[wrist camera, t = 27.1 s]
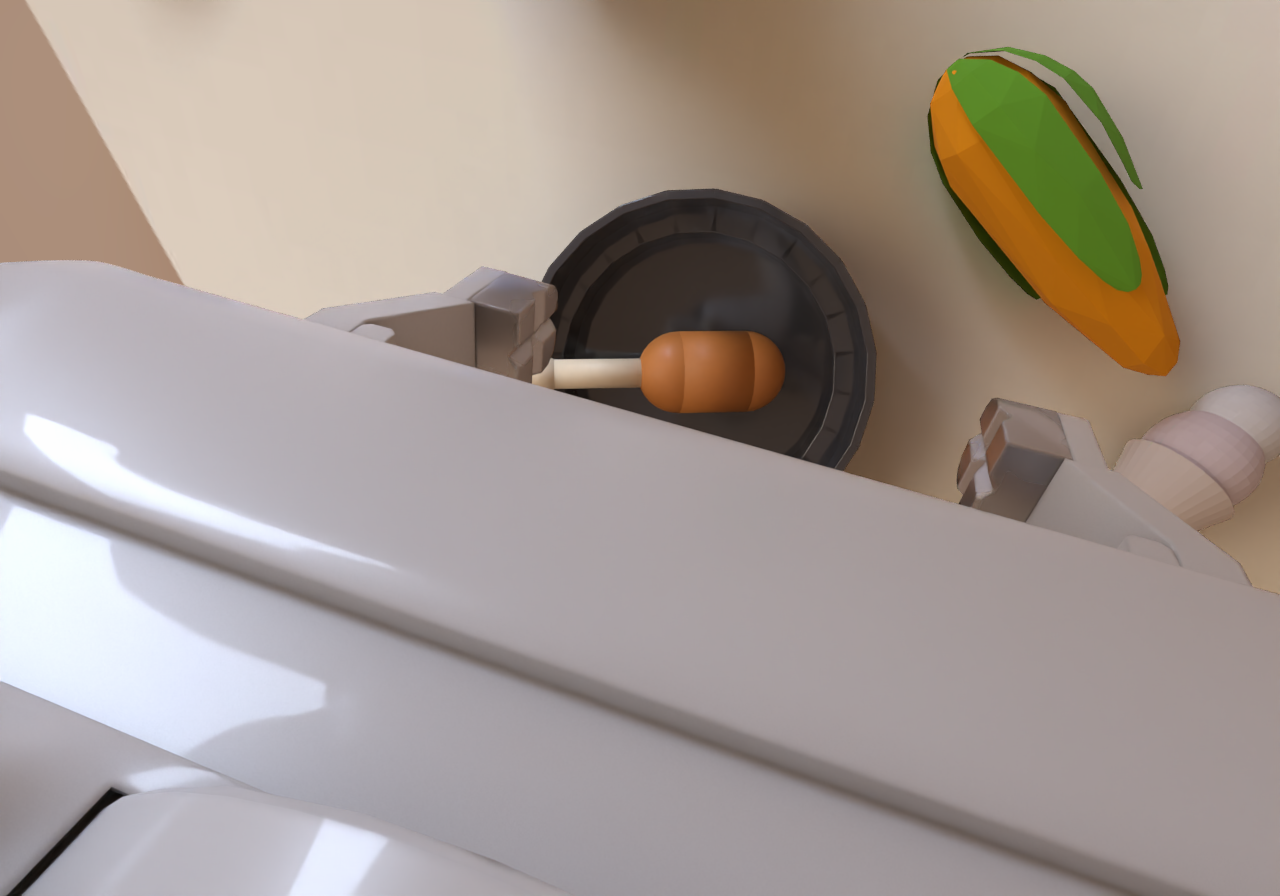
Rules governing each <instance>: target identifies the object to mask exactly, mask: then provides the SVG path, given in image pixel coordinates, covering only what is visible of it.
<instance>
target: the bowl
mask: <svg viewBox="0 0 1280 896" xmlns="http://www.w3.org/2000/svg"><path fill="white" fill-rule="evenodd" d="M542 282H543V283H547V284H550V285H554V286H555V287H556V289H557V292H558V306H557V310H556V311H555V312H554V313H553V314H552V315H551V316H550V317H549V318H550V319H551V321H552V323H553V325H554V327H555V328H556V340H555V346H554V351H553V354H552V357H551V358H553V359H636V358H640V357H641V355H642V353H643V351H644V349H645V348H646V347H647V346H648V344H649V343H651V342H652V341H653V340H654V339H655V338H657V337H659V336H661V335H663V334H666V333H669V332H676V331H752V332H756V333H759V334H762V335H764V336H765V337H767V338H769V339H770V340H771V341H772V342H773V343H774V344H775V345H776V346H777V347H778V349H779V350H780V352H781V354H782V357H783V359H784V363H785V378H784V382H783V385H782V387H781V390H780V391H779V393H778V394H777V396H776V397H775V398H774V399H773V400H772V401H771V402H770V403H769V404H767V405H765V406H764V407H762V408H760V409H757V410H754V411H748V412H714V413H672V412H667V411H664V410H661V409H659V408H657V407H655V406H654V405H653V404H652V403H651V402H649V400H648V399H647V398H646V397H645V396H644V394H643V392H642V390H641V388H580V389H554V390H556V391H559V392H563V393H566V394H570V395H573V396H577V397H581V398H584V399H588V400H591V401H595V402H598V403H602V404H605V405H609V406H612V407H616V408H620V409H623V410H627V411H630V412H634V413H637V414H641V415H644V416H648V417H652V418H655V419H659V420H662V421H666V422H669V423H673V424H676V425H680V426H683V427H687V428H691V429H694V430H698V431H701V432H705V433H708V434H712V435H715V436H719V437H723V438H726V439H730V440H733V441H737V442H740V443H744V444H747V445H751V446H754V447H758V448H762V449H765V450H769V451H772V452H776V453H779V454H783V455H786V456H790V457H793V458H797V459H801V460H804V461H808V462H811V463H815V464H818V465H822V466H825V467H829V468H833V469H836V470H840V471H844V469H845V468H846V466H847V465H848V463H849V462H850V460H851V459H852V457H853V456H854V454H855V453H856V451H857V450H858V447H859V446H860V443H861V440H862V437H863V434H864V431H865V428H866V425H867V422H868V418H869V415H870V412H871V409H872V406H873V403H874V402H873V401H874V395H875V375H876V355H877V353H876V348H875V343H874V339H873V334H872V330H871V326H870V321H869V317H868V312H867V308H866V305H865V302H864V300H863V298H862V296H861V295H860V293H859V291H858V289H857V287H856V285H855V284H854V282H853V280H852V278H851V276H850V274H849V273H848V271H847V269H846V267H845V265H844V263H843V262H842V261H841V259H840V258H839V257H838V256H837V255H836V254H835V253H834V252H833V251H832V250H831V249H830V248H829V247H828V246H827V245H826V244H825V243H824V242H823V241H822V240H821V239H820V238H819V237H818V236H817V235H816V234H815V233H814V232H813V230H812V229H811V228H810V227H809V226H808V225H806V224H805V223H803V222H801V221H799V220H798V219H796V218H794V217H792V216H791V215H789V214H787V213H785V212H784V211H782V210H780V209H778V208H776V207H775V206H773V205H771V204H769V203H768V202H766V201H763V200H761V199H757V198H753V197H748V196H744V195H740V194H736V193H732V192H728V191H723V190H719V189H691V190H667V191H663V192H660V193H657V194H654V195H651V196H648V197H645V198H642V199H638V200H635V201H632V202H629V203H626V204H623V205H621V206H619V207H617V208H616V209H614V210H612V211H611V212H609V213H608V214H606V215H605V216H603V217H602V218H600V219H599V220H597V221H596V222H594V223H593V224H591V225H590V226H588V227H587V228H585V229H584V230H582V231H581V232H580V233H579V234H578V235H577V236H576V237H575V238H574V239H573V240H572V242H571V243H570V244H569V245H568V246H567V247H566V248H565V249H564V251H563V252H562V253H561V254H560V255H559V256H558V257H557V259H556V260H555V261H554V262H553V263H552V264H551V265H550V267H549V268H548V270H547V272H546V274H545V276H544V278H543V280H542Z"/></svg>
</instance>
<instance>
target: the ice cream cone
mask: <svg viewBox="0 0 1280 896" xmlns="http://www.w3.org/2000/svg"><path fill="white" fill-rule="evenodd" d="M1278 455H1280V398H1279V397H1278V396H1276V395H1275V394H1273V393H1271V392H1269V391H1267V390H1265V389H1262V388H1259V387H1255V386H1248V385H1232V386H1226V387H1222V388H1218V389H1215V390H1213V391H1211V392H1209V393H1207V394H1205V395H1204V396H1202V397H1201V398H1200V399H1198V400H1197V401H1196V402H1195V403H1194V404H1193V405H1192V407H1191V408H1190V410H1189V411H1186V412H1182V413H1178V414H1174V415H1171V416H1169V417H1167V418H1165V419H1162V420H1161V421H1160V422H1158V423H1157V424H1155V425H1154V426H1152V427H1151V428H1150V429H1149V430H1148V431H1147V432H1146V433H1145V435H1144V436H1143V438H1142V439H1132V440H1129V441H1128V442H1127V443H1126V445H1125V447H1124V449H1123V451H1122V453H1121V455H1120V457H1119V459H1118V461H1117V463H1116V465H1115V467H1114V469H1113V471H1114V472H1118V473H1120V474H1121V475H1122V476H1124V477H1125V478H1126V479H1128V480H1129V481H1130V482H1132V483H1133V484H1134V485H1136V486H1137V487H1138V488H1140V489H1141V490H1142V491H1144V492H1145V493H1146V494H1148V495H1149V496H1150V497H1152V498H1153V499H1154V500H1156V501H1157V502H1159V503H1160V504H1161V505H1163V506H1164V507H1165V508H1167V509H1168V510H1169V511H1171V512H1172V513H1173V514H1175V515H1176V516H1177V517H1179V518H1180V519H1181V520H1183V521H1184V522H1185V523H1187V524H1188V525H1189V526H1191V527H1192V528H1193V529H1195V530H1196V531H1199V530H1201V529H1204V528H1207V527H1210V526H1212V525H1215V524H1218V523H1221V522H1223V521H1226V520H1229V519H1231V518H1232V517H1233V515H1234V508H1233V505H1235V504H1238V503H1239V502H1241V501H1242V500H1244V499H1245V498H1247V497H1248V496H1249V495H1250V494H1251V493H1252V492H1253V491H1254V490H1255V488H1256V487H1257V486H1258V485H1259V483H1260V481H1261V479H1262V477H1263V473H1264V469H1265V463H1267V462H1269V461H1271V460H1273V459H1274V458H1276V457H1277V456H1278Z"/></svg>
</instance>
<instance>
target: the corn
mask: <svg viewBox="0 0 1280 896" xmlns="http://www.w3.org/2000/svg"><path fill="white" fill-rule="evenodd" d="M997 51H1006V52H1010V53H1013V54H1016V55H1019V56H1022V57H1025V58H1028V59H1032V60H1035V61H1037V62H1038V63H1040V64H1042V65H1043V66H1045V67H1046V68H1048V69H1050V70H1051V71H1053V72H1054V73H1056V74H1058V75H1059V76H1061V77H1062V78H1064V79H1065V80H1066V82H1067V83H1068V84H1069V85H1070V86H1071V88H1072V89H1073V90H1074V91H1075V92H1076V93H1077V95H1078V96H1079V97H1080V98H1081V99H1082V100H1083V102H1084V103H1085V104H1086V105H1087V106H1088V107H1089V109H1090V110H1091V111H1092V112H1093V113H1094V114H1095V116H1096V117H1097V118H1098V119H1099V120H1100V122H1101V123H1102V125H1103V126H1104V128H1105V130H1106V132H1107V134H1108V136H1109V138H1110V140H1111V142H1112V143H1113V145H1114V147H1115V149H1116V151H1117V153H1118V155H1119V157H1120V159H1121V160H1122V162H1123V164H1124V166H1125V169H1126V171H1127V173H1128V175H1129V177H1130V179H1131V181H1132V182H1133V183H1134V184H1135V185H1136V186H1137V187H1138V188H1139V189H1143V188H1142V186H1141V183H1140V181H1139V178H1138V176H1137V173H1136V170H1135V168H1134V165H1133V163H1132V160H1131V157H1130V155H1129V152H1128V150H1127V147H1126V145H1125V142H1124V139H1123V137H1122V136H1121V134H1120V132H1119V131H1118V129H1117V127H1116V126H1115V124H1114V122H1113V120H1112V119H1111V117H1110V115H1109V114H1108V112H1107V110H1106V109H1105V107H1104V105H1103V104H1102V102H1101V100H1100V99H1099V97H1098V95H1097V94H1096V92H1095V90H1094V89H1093V88H1092V87H1091V86H1090V85H1089V84H1088V83H1087V82H1086V81H1085V80H1084V79H1082V78H1081V77H1080V76H1079V75H1078V74H1077V73H1076V72H1075V71H1073V70H1071V69H1070V68H1068V67H1066V66H1064V65H1062V64H1060V63H1058V62H1057V61H1055V60H1053V59H1051V58H1049V57H1047V56H1045V55H1041V54H1037V53H1032V52H1028V51H1024V50H1020V49H1015V48H1011V47H1004V48H997V49H990V50H984V51H977V52H971V53H983V52H997ZM968 54H970V53H967V54H966V55H968ZM966 55H964V56H966ZM964 56H963V57H964ZM928 127H929V137H930V148H931V154H932V156H933V159H934V162H935V164H936V167H937V170H938V172H939V175H940V178H941V180H942V183H943V185H944V186H945V188H946V189H947V191H948V192H949V194H950V195H951V197H952V199H953V200H954V202H955V203H956V205H957V206H958V208H959V209H960V211H961V212H962V214H963V216H964V217H965V219H966V220H967V222H968V223H969V225H970V226H971V228H972V230H973V231H974V233H975V234H976V236H977V237H978V239H979V240H980V241H981V243H982V244H983V245H984V246H985V247H986V249H987V250H988V251H989V252H990V253H991V255H992V256H993V257H994V258H995V259H996V261H997V262H998V263H999V264H1000V265H1001V267H1002V268H1003V269H1004V270H1005V271H1006V273H1007V274H1008V275H1009V276H1010V277H1011V278H1012V279H1013V280H1014V281H1015V282H1016V283H1017V284H1018V285H1019V286H1020V287H1021V288H1022V289H1023V290H1024V291H1025V292H1026V293H1027V294H1028V295H1030V296H1031V297H1033V298H1034V299H1036V300H1037V299H1039V298H1041V299H1042V300H1043V301H1044V302H1045V303H1046V304H1047V305H1048V306H1049V307H1050V308H1052V309H1053V310H1054V311H1055V312H1057V313H1058V314H1059V315H1060V316H1061V317H1063V318H1064V319H1065V320H1066V321H1067V322H1069V323H1070V324H1071V325H1072V326H1073V327H1075V328H1076V329H1077V330H1078V331H1080V332H1081V333H1082V334H1083V335H1084V336H1086V337H1087V338H1088V339H1089V340H1090V341H1092V342H1093V343H1094V344H1095V345H1097V346H1098V347H1099V348H1100V349H1101V350H1103V351H1104V352H1105V353H1106V354H1107V355H1109V356H1110V357H1111V358H1112V359H1114V360H1115V361H1116V362H1117V363H1118V364H1120V365H1121V366H1122V367H1123V368H1127V369H1130V370H1134V371H1137V372H1140V373H1144V374H1147V375H1158V376H1166V375H1167V374H1168V373H1169V372H1170V371H1171V369H1172V368H1173V367H1174V366H1175V365H1176V363H1177V361H1178V353H1179V346H1180V340H1179V336H1178V333H1177V330H1176V327H1175V324H1174V321H1173V318H1172V315H1171V311H1170V308H1169V305H1168V302H1167V299H1166V296H1165V295H1167V292H1168V283H1167V279H1166V274H1165V269H1164V267H1163V264H1162V261H1161V258H1160V256H1159V253H1158V250H1157V247H1156V244H1155V242H1154V239H1153V236H1152V234H1151V232H1150V231H1149V229H1148V227H1147V225H1146V223H1145V222H1144V220H1143V218H1142V216H1141V215H1140V213H1139V211H1138V209H1137V208H1136V206H1135V204H1134V202H1133V201H1132V199H1131V197H1130V195H1129V194H1128V192H1127V190H1126V188H1125V187H1124V185H1123V183H1122V181H1121V180H1120V178H1119V177H1118V175H1117V174H1116V173H1115V171H1114V170H1113V168H1112V167H1111V166H1110V164H1109V163H1108V161H1107V160H1106V158H1105V157H1104V156H1103V154H1102V153H1101V151H1100V150H1099V149H1098V147H1097V146H1096V144H1095V143H1094V142H1093V140H1092V139H1091V137H1090V136H1089V135H1088V133H1087V132H1086V130H1085V129H1084V128H1083V126H1082V125H1081V123H1080V122H1079V121H1078V119H1077V118H1076V116H1075V115H1074V114H1073V112H1072V111H1071V109H1070V108H1069V106H1068V105H1067V103H1066V101H1064V99H1063V98H1062V97H1061V95H1060V94H1059V92H1058V91H1057V90H1056V88H1055V87H1053V86H1051V85H1049V84H1048V83H1046V82H1044V81H1042V80H1041V79H1039V78H1038V77H1036V76H1035V75H1034V74H1033V73H1032V72H1030V71H1028V70H1026V69H1024V68H1022V67H1020V66H1018V65H1016V64H1014V63H1012V62H1010V61H1008V60H1006V59H1004V58H1002V57H1000V56H970V57H966V58H964V59H958V60H957V61H956V62H955V63H953V64H952V65H951V66H950V67H949V68H948V69H947V70H946V71H945V73H944V74H943V75H942V76H941V77H940V78H939V79H938V81H937V84H936V88H935V92H934V95H933V98H932V101H931V103H930V109H929V113H928Z"/></svg>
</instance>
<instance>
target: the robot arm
mask: <svg viewBox="0 0 1280 896" xmlns="http://www.w3.org/2000/svg"><path fill="white" fill-rule="evenodd" d="M557 306H558V292H557V289H556V287H555V286H554V285H550V284H547V283H543V282H539V281H536V280H532V279H528V278H525V277H521V276H517V275H514V274H510V273H507V272H506V271H501V270H496V269H492V268H487V267H483V266H482V267H480V268H479V269H477V270H476V271H474V272H473V273H472V274H470V275H469V276H467V277H466V278H464V279H463V280H462V281H460V282H459V283H457V284H456V285H454V286H453V287H452V288H450V289H449V290H447V291H446V292H444V293H443V294H441V293H437V292H432V293H425V294H419V295H412V296H405V297H398V298H391V299H384V300H377V301H371V302H364V303H357V304H350V305H343V306H336V307H329V308H323V309H321V310H319V311H317V312H316V313H314V314H312V315H311V316H309V317H307V318H306V319H300V318H297V317H293V316H290V315H286V314H282V313H279V312H275V311H272V310H268V309H265V308H261V307H258V306H254V305H250V304H247V303H243V302H240V301H236V300H233V299H229V298H226V297H222V296H219V295H215V294H211V293H208V292H204V291H201V290H197V289H194V288H190V287H187V286H183V285H179V284H175V283H172V282H169V281H165V280H161V279H158V278H154V277H151V276H147V275H144V274H141V273H138V272H135V271H132V270H129V269H126V268H122V267H119V266H114V265H111V264H107V263H104V262H96V261H82V260H54V261H28V262H27V261H26V262H8V263H0V896H1280V594H1276V593H1273V592H1269V591H1266V590H1262V589H1258V588H1255V587H1253V586H1252V584H1251V582H1250V581H1249V579H1248V577H1247V575H1246V573H1245V571H1244V570H1243V568H1242V566H1241V564H1240V563H1239V562H1237V561H1236V560H1235V559H1233V558H1232V557H1231V556H1229V555H1228V554H1227V553H1225V552H1224V551H1223V550H1221V549H1220V548H1219V547H1217V546H1216V545H1215V544H1213V543H1212V542H1211V541H1209V540H1208V539H1207V538H1205V537H1204V536H1203V535H1201V534H1200V533H1199V532H1197V531H1196V530H1195V529H1193V528H1192V527H1191V526H1189V525H1188V524H1187V523H1185V522H1184V521H1183V520H1181V519H1180V518H1179V517H1177V516H1176V515H1175V514H1173V513H1172V512H1171V511H1169V510H1168V509H1167V508H1165V507H1164V506H1163V505H1161V504H1160V503H1159V502H1157V501H1156V500H1154V499H1153V498H1152V497H1150V496H1149V495H1148V494H1146V493H1145V492H1144V491H1142V490H1141V489H1140V488H1138V487H1137V486H1136V485H1134V484H1133V483H1132V482H1130V481H1129V480H1128V479H1126V478H1125V477H1124V476H1122V475H1121V474H1120V473H1118V472H1114V471H1111V470H1109V469H1108V467H1107V464H1106V462H1105V459H1104V457H1103V454H1102V452H1101V450H1100V447H1099V445H1098V442H1097V440H1096V437H1095V435H1094V432H1093V430H1092V427H1091V425H1090V422H1089V421H1088V420H1086V419H1084V418H1080V417H1075V416H1070V415H1066V414H1061V413H1057V412H1056V411H1052V410H1048V409H1043V408H1039V407H1035V406H1030V405H1026V404H1022V403H1017V402H1013V401H1009V400H1004V399H1000V398H994V399H992V400H991V401H990V402H989V404H988V405H987V406H986V408H985V410H984V412H983V414H982V416H981V418H980V423H981V430H982V433H981V434H979V435H977V436H975V437H973V438H972V439H970V440H969V442H968V444H967V446H966V448H965V450H964V452H963V455H962V458H961V461H960V464H959V467H958V473H957V489H958V490H959V491H960V492H961V493H962V494H963V497H962V499H961V501H960V502H959V504H957V503H953V502H950V501H946V500H943V499H939V498H935V497H932V496H928V495H925V494H921V493H918V492H914V491H911V490H907V489H903V488H900V487H896V486H893V485H889V484H886V483H882V482H879V481H875V480H872V479H868V478H864V477H861V476H857V475H854V474H850V473H847V472H843V471H840V470H836V469H833V468H829V467H825V466H822V465H818V464H815V463H811V462H808V461H804V460H801V459H797V458H793V457H790V456H786V455H783V454H779V453H776V452H772V451H769V450H765V449H762V448H758V447H754V446H751V445H747V444H744V443H740V442H737V441H733V440H730V439H726V438H723V437H719V436H715V435H712V434H708V433H705V432H701V431H698V430H694V429H691V428H687V427H683V426H680V425H676V424H673V423H669V422H666V421H662V420H659V419H655V418H652V417H648V416H644V415H641V414H637V413H634V412H630V411H627V410H623V409H620V408H616V407H612V406H609V405H605V404H602V403H598V402H595V401H591V400H588V399H584V398H581V397H577V396H573V395H570V394H566V393H563V392H559V391H556V390H552V389H549V388H545V387H542V386H538V385H534V384H532V375H536V374H539V373H542V372H543V370H544V369H545V368H546V367H547V366H548V364H549V361H550V359H551V357H552V354H553V351H554V346H555V340H556V328H555V327H554V325H553V323H552V321H551V319H550V318H549V317H550V316H551V315H552V314H553V313H554V312H555V311H556V310H557Z"/></svg>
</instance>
